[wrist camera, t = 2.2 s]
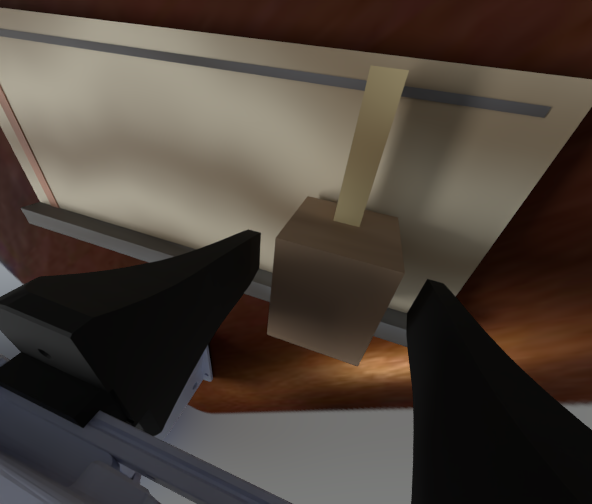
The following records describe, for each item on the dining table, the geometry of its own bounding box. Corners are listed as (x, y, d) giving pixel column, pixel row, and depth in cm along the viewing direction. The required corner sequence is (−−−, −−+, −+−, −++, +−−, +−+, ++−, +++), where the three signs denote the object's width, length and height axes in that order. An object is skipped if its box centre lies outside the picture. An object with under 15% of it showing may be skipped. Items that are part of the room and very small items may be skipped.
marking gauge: (364, 299, 13) (357, 366, 10) (294, 278, 14) (266, 334, 10) (453, 82, 7) (508, 70, 4) (328, 65, 8) (293, 44, 5)
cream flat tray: (422, 318, 15) (428, 356, 13) (69, 211, 20) (30, 225, 18) (575, 84, 8) (647, 79, 6) (-24, 9, 13) (-106, -9, 11)
